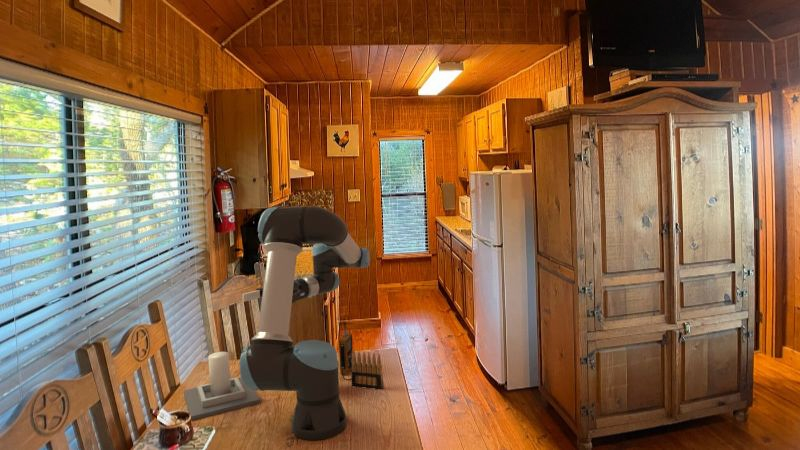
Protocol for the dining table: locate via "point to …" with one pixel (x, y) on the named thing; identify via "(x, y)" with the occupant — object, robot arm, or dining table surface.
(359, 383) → the ammunition clip
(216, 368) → the plug
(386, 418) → the dining table surface
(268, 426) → the dining table surface
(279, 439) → the dining table surface
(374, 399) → the dining table surface
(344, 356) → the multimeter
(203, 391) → the socket block
